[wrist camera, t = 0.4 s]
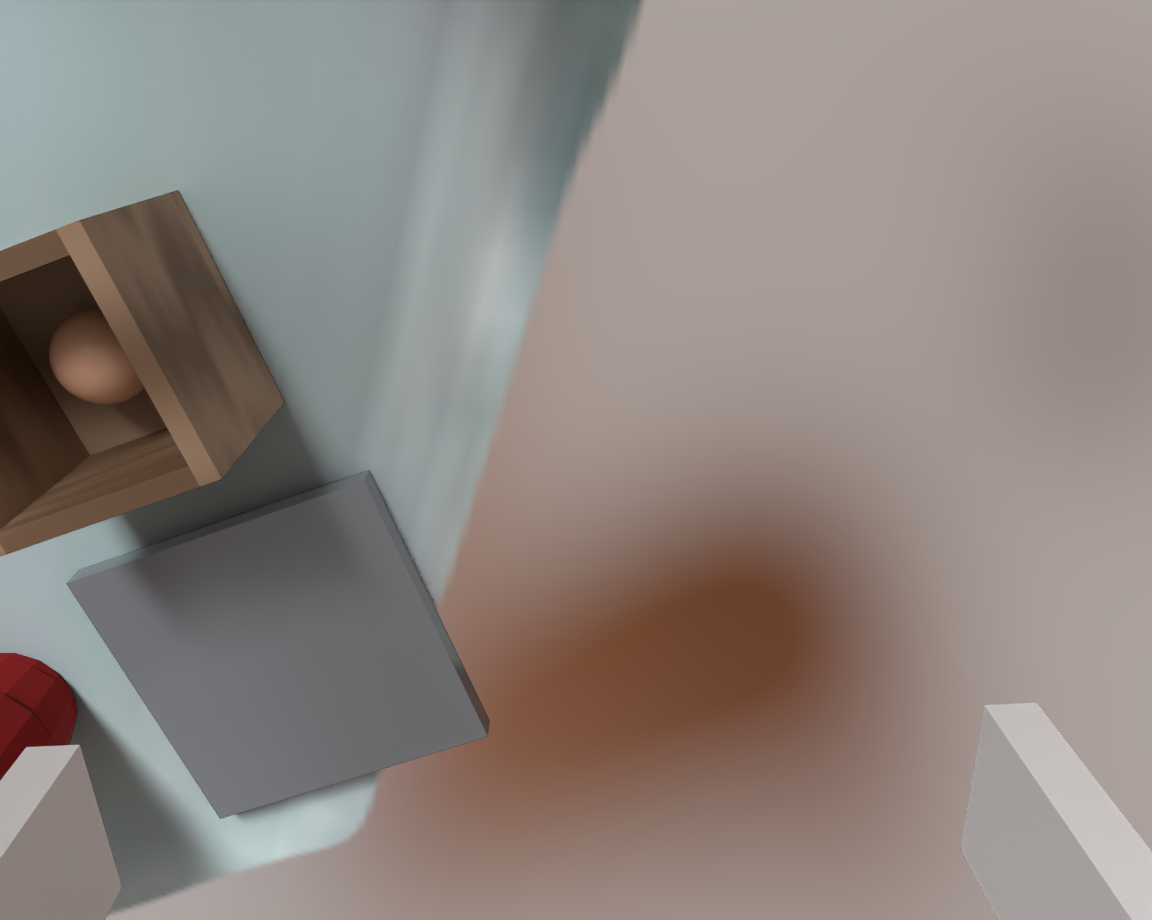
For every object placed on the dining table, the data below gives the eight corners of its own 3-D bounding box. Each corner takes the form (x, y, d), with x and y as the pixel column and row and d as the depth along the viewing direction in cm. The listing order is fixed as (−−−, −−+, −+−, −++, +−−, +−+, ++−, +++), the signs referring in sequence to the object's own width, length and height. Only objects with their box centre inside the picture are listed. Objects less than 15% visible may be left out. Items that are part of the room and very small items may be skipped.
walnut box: (-30, 270, 36) (-179, 320, 29) (178, 190, 35) (79, 220, 28) (91, 470, 39) (-14, 561, 32) (284, 401, 39) (221, 479, 31)
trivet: (79, 569, 41) (66, 583, 40) (369, 470, 40) (363, 481, 39) (228, 801, 46) (220, 818, 45) (489, 720, 45) (487, 736, 44)
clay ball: (59, 316, 36) (9, 341, 33) (141, 285, 36) (99, 306, 32) (107, 399, 37) (64, 430, 34) (187, 370, 37) (151, 398, 34)
